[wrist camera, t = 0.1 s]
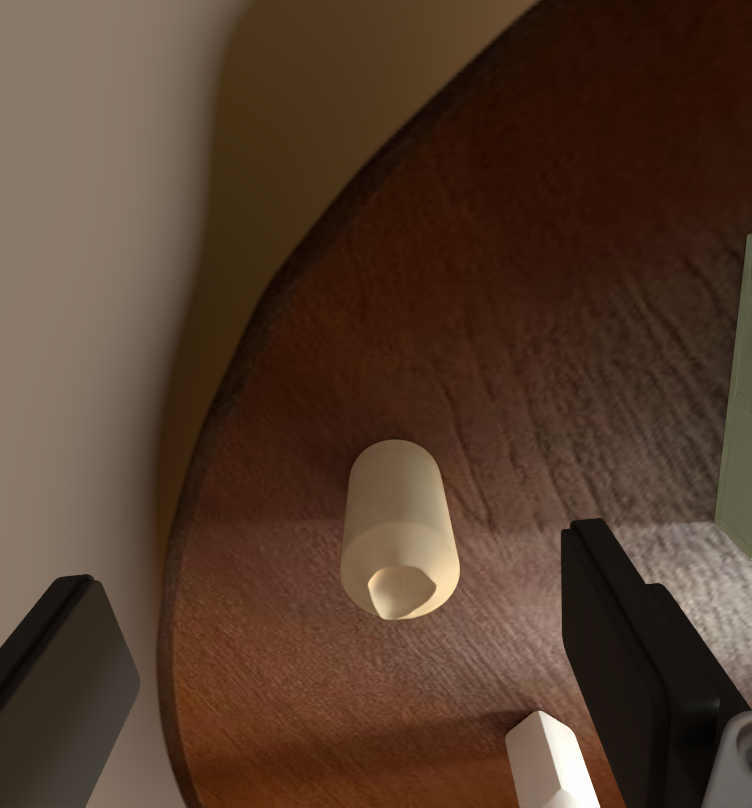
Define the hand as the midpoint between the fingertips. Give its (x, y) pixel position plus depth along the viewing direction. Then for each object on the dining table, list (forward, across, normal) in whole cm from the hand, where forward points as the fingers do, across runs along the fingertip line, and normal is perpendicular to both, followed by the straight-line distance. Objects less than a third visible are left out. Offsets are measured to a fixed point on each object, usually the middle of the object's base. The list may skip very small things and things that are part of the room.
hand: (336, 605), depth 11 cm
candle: (+20, -1, +9) cm, 22 cm away
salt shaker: (+20, -9, +32) cm, 39 cm away
